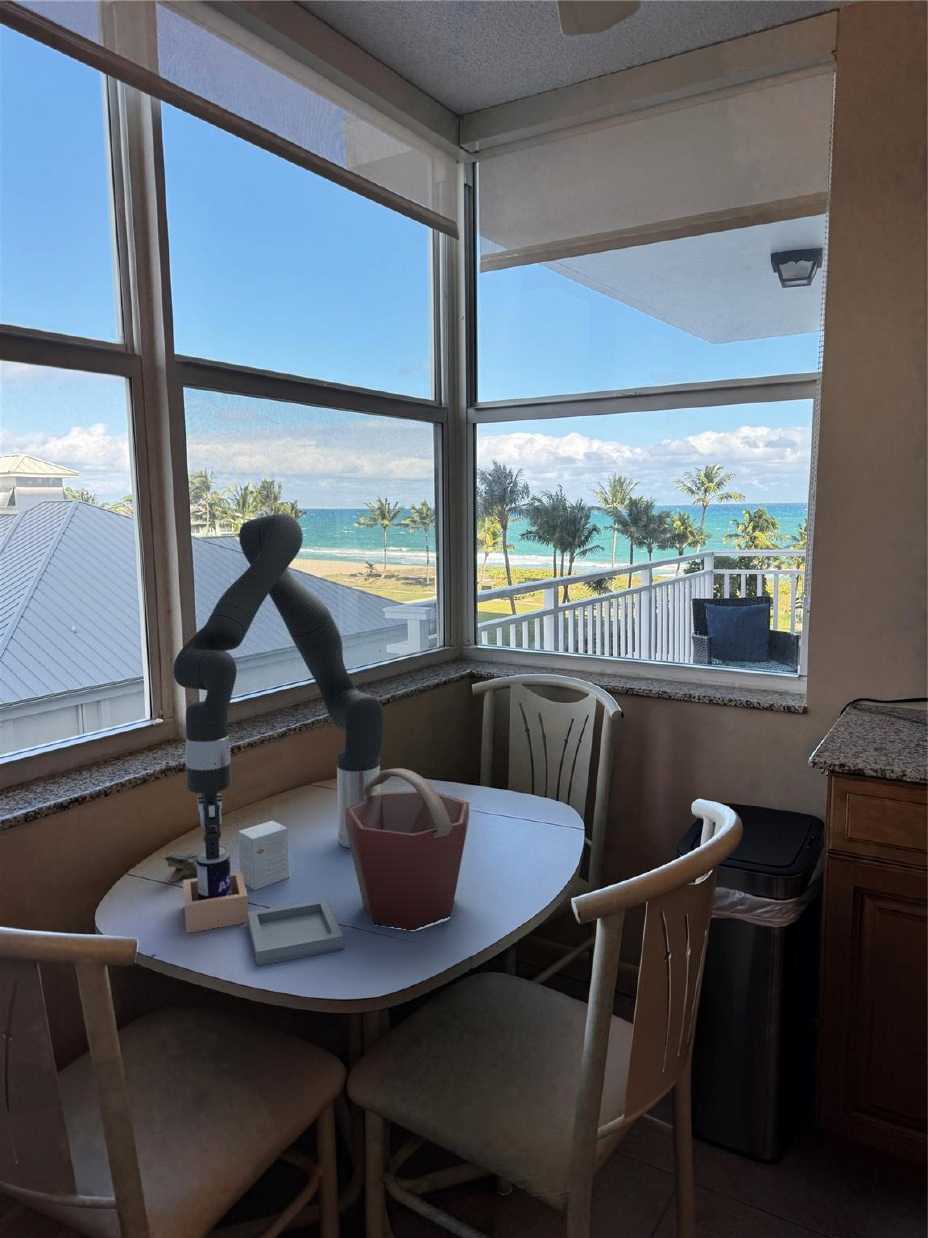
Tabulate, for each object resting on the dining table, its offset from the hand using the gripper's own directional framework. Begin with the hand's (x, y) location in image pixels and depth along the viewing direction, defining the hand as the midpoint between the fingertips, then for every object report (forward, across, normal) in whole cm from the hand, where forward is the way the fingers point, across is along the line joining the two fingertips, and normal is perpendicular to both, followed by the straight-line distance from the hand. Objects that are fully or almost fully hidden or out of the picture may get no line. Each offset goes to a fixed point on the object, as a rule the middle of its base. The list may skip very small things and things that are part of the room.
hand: (211, 849), depth 146 cm
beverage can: (+12, 0, 0) cm, 12 cm away
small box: (+12, +11, -10) cm, 19 cm away
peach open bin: (+12, 0, 0) cm, 12 cm away
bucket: (+12, -10, -34) cm, 38 cm away
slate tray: (+12, -13, -12) cm, 22 cm away
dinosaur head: (+12, +18, +6) cm, 22 cm away
